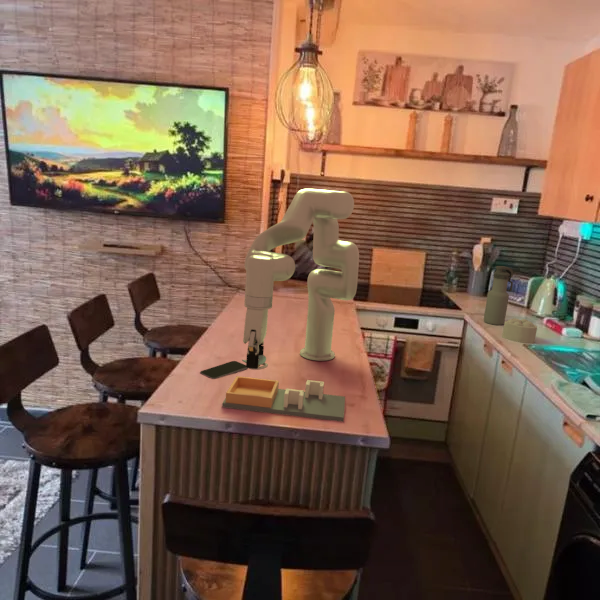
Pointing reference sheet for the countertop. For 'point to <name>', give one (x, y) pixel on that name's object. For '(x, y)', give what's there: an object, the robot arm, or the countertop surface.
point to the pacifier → (260, 362)
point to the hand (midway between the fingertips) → (254, 362)
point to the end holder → (252, 391)
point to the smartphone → (224, 370)
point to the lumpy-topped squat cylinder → (519, 331)
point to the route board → (302, 403)
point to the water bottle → (498, 296)
